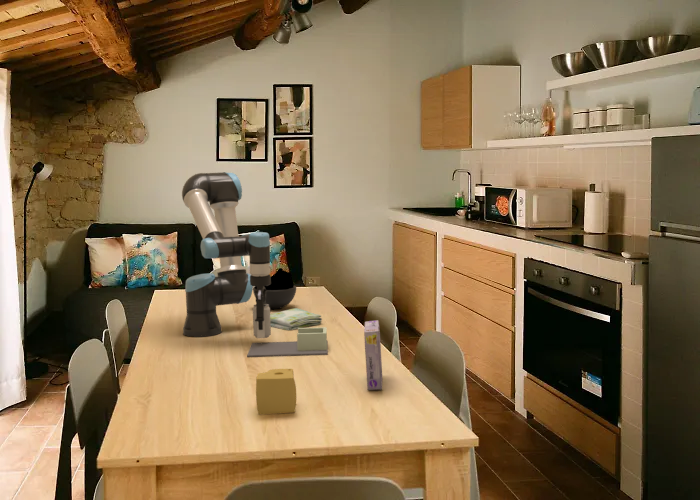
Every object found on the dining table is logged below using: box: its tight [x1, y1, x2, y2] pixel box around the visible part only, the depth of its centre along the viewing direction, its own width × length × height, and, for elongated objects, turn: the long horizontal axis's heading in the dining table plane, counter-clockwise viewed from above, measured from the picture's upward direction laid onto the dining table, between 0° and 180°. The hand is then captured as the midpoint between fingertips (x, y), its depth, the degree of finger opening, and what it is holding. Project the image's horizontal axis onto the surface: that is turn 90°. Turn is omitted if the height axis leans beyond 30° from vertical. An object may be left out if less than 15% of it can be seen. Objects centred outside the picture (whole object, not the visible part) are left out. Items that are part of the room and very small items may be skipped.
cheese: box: [255, 368, 297, 416], centre depth 218 cm, size 10×11×10 cm
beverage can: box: [252, 304, 272, 339], centre depth 296 cm, size 6×6×12 cm
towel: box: [270, 307, 323, 331], centre depth 333 cm, size 18×21×5 cm
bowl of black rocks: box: [252, 267, 297, 310], centre depth 369 cm, size 20×20×19 cm
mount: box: [246, 326, 329, 358], centre depth 287 cm, size 20×28×7 cm
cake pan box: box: [363, 319, 383, 391], centre depth 241 cm, size 19×5×18 cm, turn 178°
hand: (261, 335), depth 297 cm, fingers closed on beverage can, 6 cm apart
